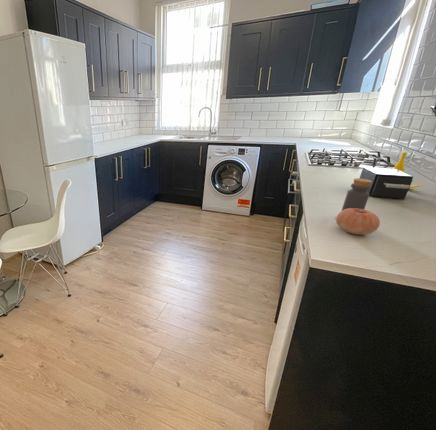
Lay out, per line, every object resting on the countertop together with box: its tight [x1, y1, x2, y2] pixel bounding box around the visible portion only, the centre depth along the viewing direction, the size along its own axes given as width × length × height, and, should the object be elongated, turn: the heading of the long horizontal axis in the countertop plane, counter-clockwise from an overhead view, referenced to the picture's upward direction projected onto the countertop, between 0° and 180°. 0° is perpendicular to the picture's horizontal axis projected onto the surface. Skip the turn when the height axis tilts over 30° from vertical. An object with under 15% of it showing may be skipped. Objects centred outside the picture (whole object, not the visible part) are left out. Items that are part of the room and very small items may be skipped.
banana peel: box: [392, 151, 423, 189], centre depth 138 cm, size 17×19×17 cm
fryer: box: [359, 166, 414, 200], centre depth 128 cm, size 15×13×10 cm
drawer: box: [371, 176, 414, 199], centre depth 124 cm, size 18×11×8 cm, turn 158°
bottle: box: [341, 177, 372, 211], centre depth 97 cm, size 6×6×15 cm
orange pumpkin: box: [335, 208, 381, 236], centre depth 90 cm, size 11×11×8 cm
